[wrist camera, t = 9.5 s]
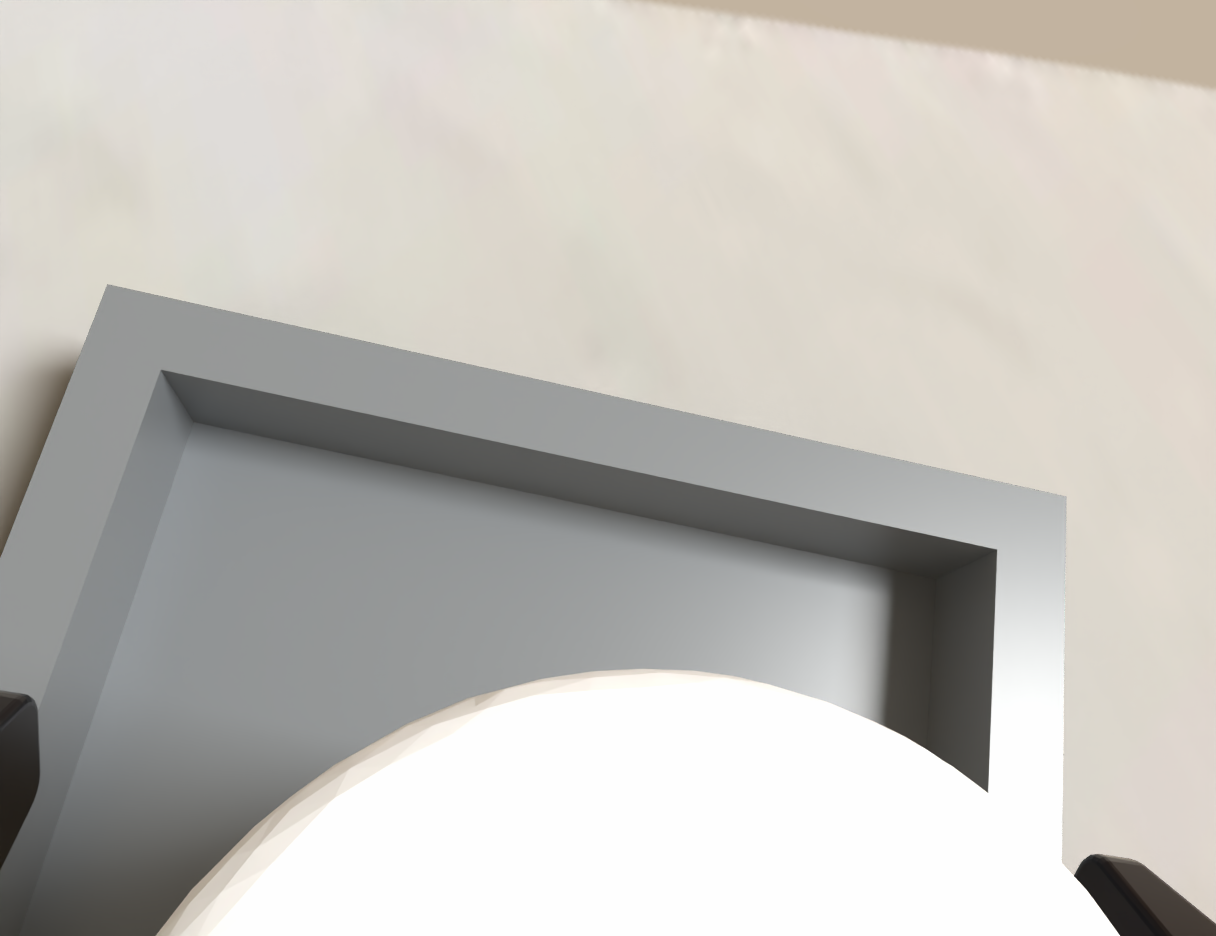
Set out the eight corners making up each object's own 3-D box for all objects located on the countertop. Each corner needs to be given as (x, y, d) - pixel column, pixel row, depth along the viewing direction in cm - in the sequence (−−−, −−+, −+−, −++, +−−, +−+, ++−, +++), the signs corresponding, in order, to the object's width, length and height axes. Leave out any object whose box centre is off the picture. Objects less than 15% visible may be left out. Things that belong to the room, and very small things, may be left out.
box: (-240, 1465, 13) (-424, 1638, 10) (157, 364, 19) (107, 284, 16) (932, 1604, 15) (1049, 1790, 12) (979, 541, 20) (1066, 496, 17)
